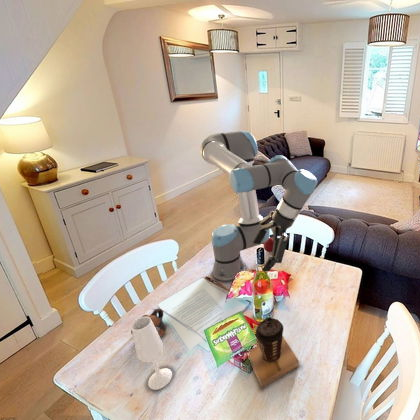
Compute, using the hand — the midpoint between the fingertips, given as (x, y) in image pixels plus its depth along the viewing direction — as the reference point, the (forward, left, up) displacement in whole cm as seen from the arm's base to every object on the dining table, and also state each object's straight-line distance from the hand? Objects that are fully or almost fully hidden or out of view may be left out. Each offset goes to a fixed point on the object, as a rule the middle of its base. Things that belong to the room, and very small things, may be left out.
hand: (260, 256), depth 99 cm
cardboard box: (+23, -8, -26) cm, 35 cm away
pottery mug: (-11, -40, -26) cm, 49 cm away
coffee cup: (+23, -8, -23) cm, 33 cm away
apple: (-35, +20, -26) cm, 48 cm away
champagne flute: (+10, -40, -26) cm, 48 cm away
